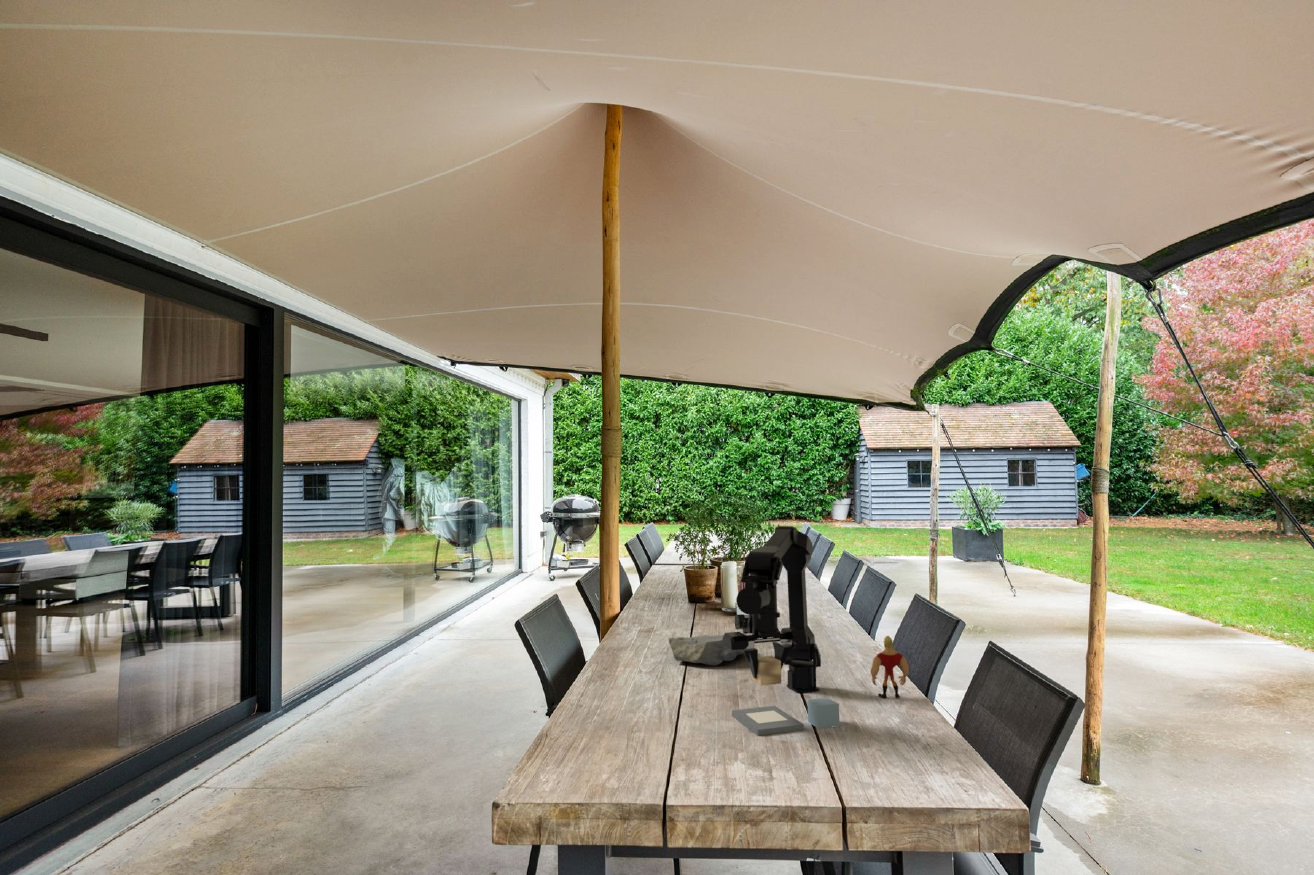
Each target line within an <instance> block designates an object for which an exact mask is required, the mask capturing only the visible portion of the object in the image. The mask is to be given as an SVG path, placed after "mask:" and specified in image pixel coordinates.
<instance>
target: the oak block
mask: <svg viewBox="0 0 1314 875" xmlns="http://www.w3.org/2000/svg"><path fill="white" fill-rule="evenodd" d="M750 675H751V676H750V677H751V681H753V682H754V683H756V684H757V685H759V686H770V685H771V686H772V685H779V684H780V685H781V684H782V669H781V661H780V660H778V659H776V658H774V656H773V655H763V656H758V673H757V678H756V679H755V678H754V677H753V675H752V672H751V671H750Z"/></svg>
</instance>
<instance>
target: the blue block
mask: <svg viewBox="0 0 1314 875" xmlns="http://www.w3.org/2000/svg"><path fill="white" fill-rule="evenodd" d="M807 722H808V723H809V724H810V725H813V726H814V727H815V726H816V729H819V730H823V729H828V728H827V727H831V728H833V727H832V726H839V727H840V703H838V702H836V701H835V700H833V699H831V698H830V697H819V698H810V699H807ZM822 728H823V729H822Z"/></svg>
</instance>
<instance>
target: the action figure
mask: <svg viewBox="0 0 1314 875" xmlns="http://www.w3.org/2000/svg"><path fill="white" fill-rule="evenodd" d="M893 647H894V643H893V639H892V638H891V637H890V636H889V635H886V636H885V637H884V640H883V648H884V650H883V651H882V652H878V654H876V656H875V657H874V658H873V660H872V663H871V669H870V675H871V677H872V679H871V681H872V684H873V685H874V686H876V687H877V686H878V685H877V683H876V680H877V679H878V678H877V675H878V674H879V671H880V666H882V667H884V678H883V679H884V680H883V683H882V693H878V694H877V696H878V697H879V698H883V699H887V698H888V696H887V690H888V680H889V678H890V680H891V683H892V688H893V689H894V698H896V699H898V698H900V694H899V686H898V683H897V682H896V681H895V677H894V676H895V675H894V668H895V667H896V666H900V669H901V671H902V675H899V676H898V677H897V678H898V679H899V681H898V682H899V685H900V686H904V685H906V683H907V676H908V675H909V671H910V669H909V665H908V662H907V659H906V658H905V656H904V655H903V654H901V653H900V652H897V650H895V649H894V648H893Z"/></svg>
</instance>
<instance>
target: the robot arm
mask: <svg viewBox="0 0 1314 875" xmlns="http://www.w3.org/2000/svg"><path fill="white" fill-rule="evenodd" d="M813 546H814V545H813V542H812V540H811V538H810V537H809V536H808V535H807V534H805V533H803V532H801V531H799V529H798V528H797V527H796V526H794V525H792V526H791V525H778V526H776V527H775V528H774V532H773V534H771V536H770V537H769V538H768V540H767V541H766V542H765V544H764V545H763V546H762V547H756V548H753V549H752V550H750V551H749V552H748V555H747V556H746V558H745V561H744V566H743V570H742V574H741V579H740V582H741V583H744V588H742V589H741V590H740V591H739V592H738V594H737V595H736V598H735V601H736V605H737V608H738V609H739V610H740V611H741V612H742V613H743V614H742V613H741V614H735V615H734V628H735V630H737V631H731V632H725V633H724V634H723V635H724V636H723V645H724V646H725V647H727V648H729V649H731V650H741V651H743V653H744V654H743V655H744V657H745V658H746V661H747V663H748V666H749V669H750V673H751V672H752V675H753V677H754V678H755V679H756V678H757V673H758V657H759V654H758V653H759V649H757V648H756V647H755V644H763V643H765V644H766V643H772V646H773V649H774V653H773V654H774V655H773V657H774V658H776V659H778V660H780V661H781V670H782V669H783V667H784V666H788V670H787V684H786V686H785V687H787V688H788V689H791V691H794V692H796V693H799V694H800V693H807V692H808V693H809V692H816V691H820V690H821V689H820V687H818V686H817V668H821V666H822V657H821V653H820V650H819V647H818V644H817V643H816V639H815V638H816V637H815V634H814V632H813V631H812V629H811V628H810V627H809V625H808V604H807V602H808V601H807V588H806V587H807V585H806V582H807V581H806V580H807V579H806V569H807V567H808V565H809V563H810V562H811V560H812V554H813V548H814V547H813ZM783 567H784V569H785V571H786V576H787V577H786V578H787V597H788V598H787V599H788V602H787V603H788V620H789V622H788V623H789V627H782V628H781V630H779V628H778V625H779V624H778V618H780V617H781V613H780V612H778V591H777V590H778V588H777V587H778V586H777V585H778V581H780V577H781V574H782V571H783ZM745 614H746V615H748V616H747V617H746V616H745ZM738 630H742V632H740V631H738Z"/></svg>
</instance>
